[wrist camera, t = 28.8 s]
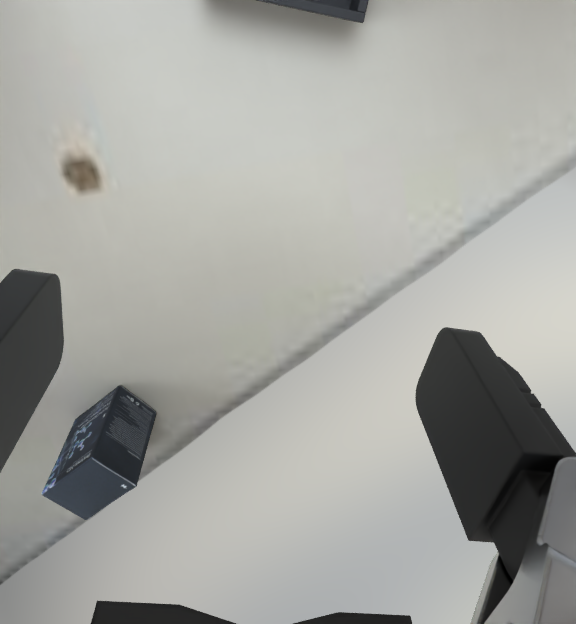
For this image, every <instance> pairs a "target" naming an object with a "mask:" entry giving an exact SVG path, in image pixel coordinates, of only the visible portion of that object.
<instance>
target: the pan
mask: <svg viewBox="0 0 576 624" xmlns="http://www.w3.org/2000/svg"><path fill="white" fill-rule="evenodd" d="M257 1H262V2H266V3H271V4H276V5H280V6H285V7H289V8H294V9H298V10H303V11H308V12H312V13H317V14H321V15H326V16H331V17H335V18H340V19H344V20H349V21H354V22H360V23H363V22H364V18H365V12H366V9H367V4H368V0H257Z"/></svg>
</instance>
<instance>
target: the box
mask: <svg viewBox="0 0 576 624" xmlns="http://www.w3.org/2000/svg"><path fill="white" fill-rule="evenodd" d="M155 417H156V411H154V410H153V409H152V408H150V407H149V406H148V405H147V404H145V403H144V402H143V401H141V400H140V399H139V398H137V397H136V396H135V395H133V394H132V393H130V392H129V391H128V390H126V389H125V388H124V387H123V386H118V387H117V388H116V389H114V390H113V391H112V392H110V393H109V394H108V395H106V396H105V397H104V398H103V399H101V400H100V401H99V402H98V403H96V404H95V405H94V406H92V407H91V408H90V409H89V410H87V411H86V412H85V413H83V414H82V415H81V416H79V417H78V418H77V419H76V420H75V422H74V424H73V426H72V428H71V431H70V433H69V435H68V437H67V439H66V441H65V444H64V446H63V448H62V450H61V452H60V455H59V457H58V459H57V461H56V464H55V466H54V468H53V470H52V472H51V475H50V477H49V479H48V481H47V483H46V485H45V488H44V490H43V492H42V495H43V496H45V497H46V498H48V499H50V500H52V501H53V502H55V503H57V504H59V505H60V506H62V507H64V508H66V509H67V510H69V511H71V512H73V513H74V514H76V515H78V516H79V517H81V518H83V519H85V520H88V519H89V518H90V517H92V516H93V515H95V514H96V513H97V512H99V511H100V510H102V509H103V508H104V507H106V506H107V505H109V504H110V503H112V502H113V501H115V500H116V499H118V498H119V497H121V496H122V495H124V494H125V493H126V492H128V491H130V490H132V489H133V488H135V487H136V486H137V482H138V479H139V475H140V471H141V468H142V464H143V461H144V457H145V453H146V450H147V446H148V442H149V438H150V435H151V431H152V428H153V424H154V420H155Z"/></svg>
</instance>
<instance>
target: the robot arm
mask: <svg viewBox="0 0 576 624" xmlns="http://www.w3.org/2000/svg"><path fill="white" fill-rule="evenodd" d="M63 345H64V336H63V319H62V303H61V287H60V280H59V278H58V276H57V275H56V274H50V273H43V272H35V271H28V270H20V269H14V270H12V271H11V272H10V273H9V274H8V275H7V276H6V277H5V278H4V279H3V281H2V282H1V283H0V472H1V470H2V468H3V467H4V465H5V463H6V461H7V459H8V458H9V456H10V454H11V452H12V450H13V449H14V447H15V445H16V443H17V441H18V440H19V438H20V436H21V434H22V432H23V431H24V429H25V427H26V425H27V423H28V422H29V420H30V418H31V416H32V414H33V413H34V411H35V409H36V407H37V405H38V404H39V402H40V400H41V398H42V396H43V395H44V393H45V391H46V389H47V387H48V386H49V384H50V382H51V380H52V378H53V377H54V375H55V373H56V371H57V369H58V367H59V364H60V361H61V358H62V353H63ZM416 406H417V410H418V413H419V415H420V418H421V420H422V423H423V425H424V428H425V431H426V433H427V436H428V438H429V441H430V443H431V446H432V448H433V451H434V453H435V456H436V459H437V461H438V464H439V466H440V469H441V471H442V474H443V476H444V479H445V482H446V484H447V487H448V489H449V492H450V494H451V497H452V499H453V502H454V505H455V507H456V509H457V512H458V515H459V517H460V520H461V522H462V525H463V527H464V530H465V533H466V535H467V538H468V540H469V541H482V542H494V543H495V545H496V548H497V550H498V552H497V554H496V555H495V557H494V558H493V560H492V562H491V564H490V567H489V570H488V573H487V576H486V579H485V582H484V584H483V588H482V590H481V594H480V596H479V599H478V602H477V605H476V608H475V611H474V615H473V617H472V621H471V624H576V453H575V452H574V450H573V449H572V448H571V446H570V445H569V443H568V442H567V440H566V439H565V437H564V436H563V435H562V433H561V432H560V430H559V429H558V428H557V426H556V425H555V423H554V422H553V421H552V419H551V418H550V416H549V415H548V413H547V412H546V411H545V409H543V408H541V404H540V402H539V401H538V399H537V398H536V397H535V395H534V394H531V390H530V388H529V387H528V385H527V384H526V382H525V381H524V380H523V378H522V377H521V375H520V374H519V373H518V372H517V371H516V370H515V369H513V368H512V367H511V366H510V365H509V364H507V363H506V362H505V361H504V360H502V359H501V358H500V357H497V356H496V354H495V353H494V351H493V350H492V349H491V347H490V346H489V344H488V343H487V341H486V340H485V338H484V337H483V335H482V334H481V333H480V332H476V331H469V330H462V329H454V328H443V329H442V330H441V331H440V332H439V333H438V335H437V337H436V339H435V342H434V344H433V347H432V349H431V352H430V354H429V356H428V359H427V361H426V364H425V366H424V369H423V371H422V373H421V376H420V378H419V381H418V384H417V388H416ZM91 624H236V623H233V622H230V621H226V620H223V619H220V618H218V617H214V616H211V615H209V614H206V613H203V612H200V611H196V610H194V609H190V608H187V607H184V606H181V605H172V604H152V603H131V602H110V601H97V603H96V607H95V611H94V614H93V618H92V622H91ZM294 624H412V621H411V617H410V616H405V615H384V614H383V615H382V614H363V613H342V612H339V613H334V614H330V615H326V616H322V617H318V618H314V619H310V620H306V621H302V622H298V623H294Z"/></svg>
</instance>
